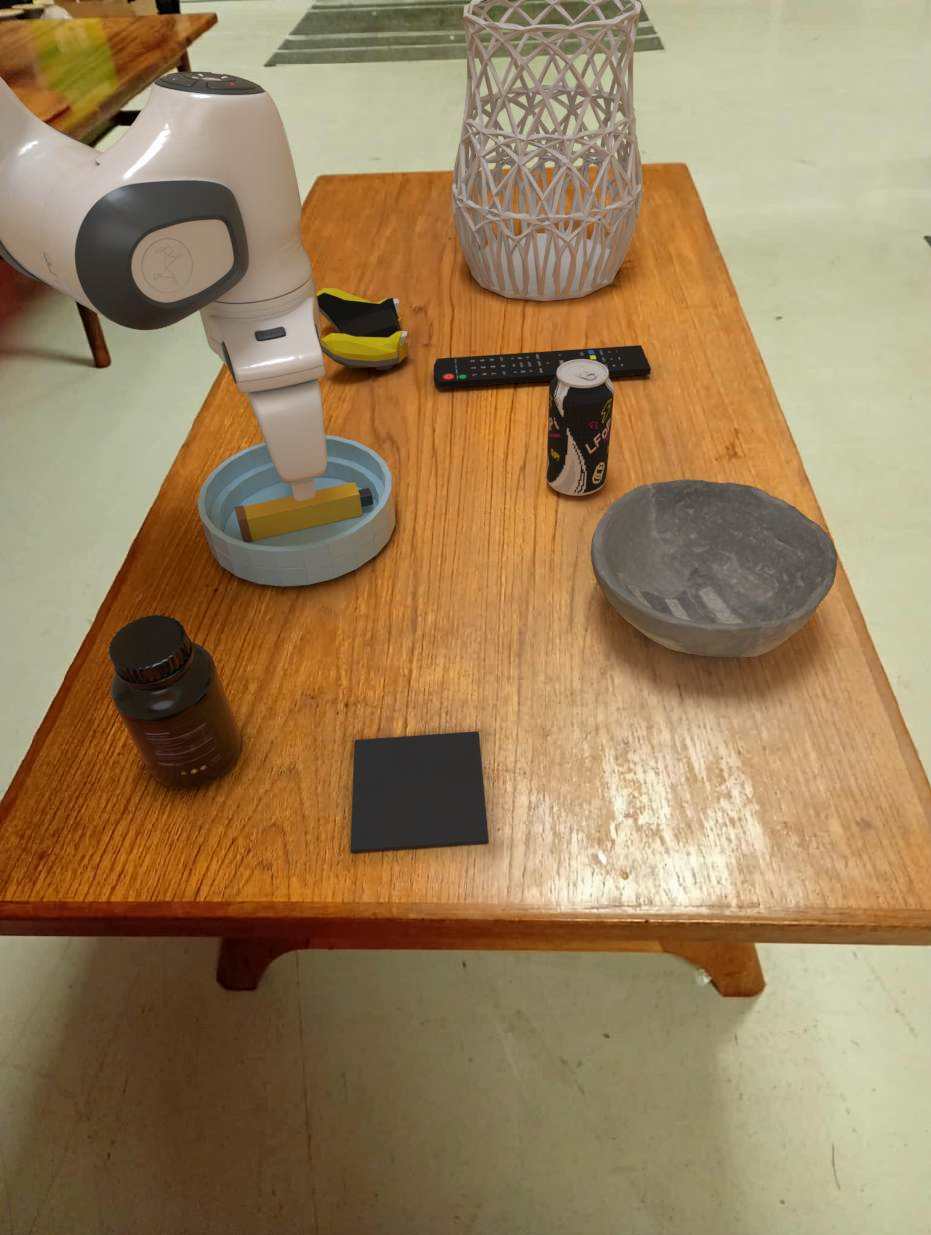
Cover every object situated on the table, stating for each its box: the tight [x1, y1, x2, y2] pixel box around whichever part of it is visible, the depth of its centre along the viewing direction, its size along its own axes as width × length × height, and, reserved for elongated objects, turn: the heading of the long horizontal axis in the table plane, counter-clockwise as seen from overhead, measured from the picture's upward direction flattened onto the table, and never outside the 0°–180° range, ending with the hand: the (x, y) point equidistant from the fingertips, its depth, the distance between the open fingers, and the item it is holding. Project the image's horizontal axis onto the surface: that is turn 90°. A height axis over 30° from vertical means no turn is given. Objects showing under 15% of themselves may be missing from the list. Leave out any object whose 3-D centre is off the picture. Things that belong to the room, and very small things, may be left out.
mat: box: [350, 730, 489, 854], centre depth 61 cm, size 9×9×1 cm
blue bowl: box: [196, 434, 397, 587], centre depth 81 cm, size 17×17×4 cm
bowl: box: [590, 478, 838, 658], centre depth 70 cm, size 18×18×8 cm
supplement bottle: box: [108, 614, 242, 790], centre depth 60 cm, size 7×7×12 cm
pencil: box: [235, 482, 373, 543], centre depth 81 cm, size 12×2×3 cm, turn 108°
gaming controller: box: [316, 287, 410, 371], centre depth 104 cm, size 15×6×10 cm
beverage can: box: [545, 359, 615, 497], centre depth 81 cm, size 6×6×12 cm
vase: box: [451, 0, 643, 302], centre depth 110 cm, size 24×24×30 cm
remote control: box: [432, 344, 652, 389], centre depth 100 cm, size 5×24×1 cm, turn 94°
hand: (293, 464), depth 77 cm, fingers open, 8 cm apart
